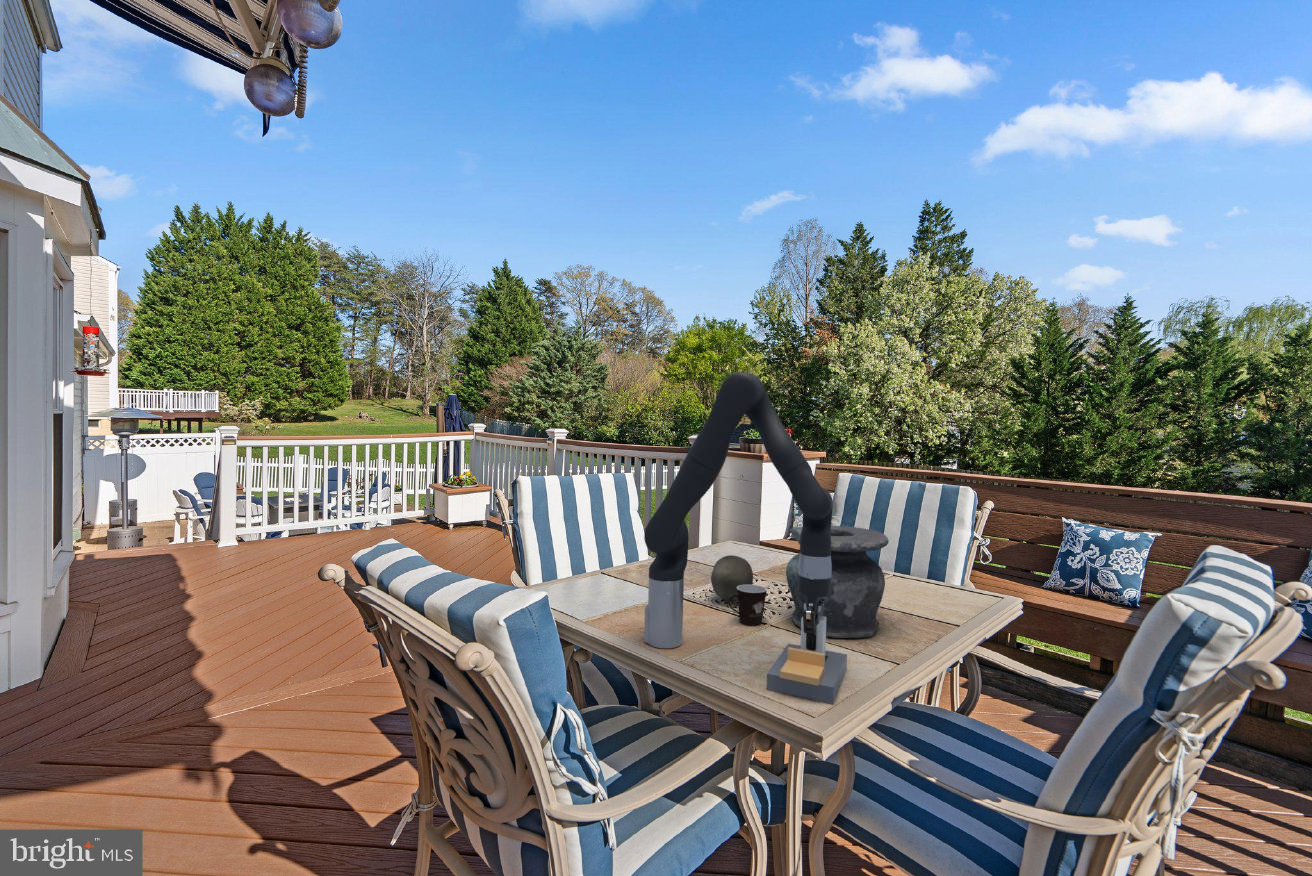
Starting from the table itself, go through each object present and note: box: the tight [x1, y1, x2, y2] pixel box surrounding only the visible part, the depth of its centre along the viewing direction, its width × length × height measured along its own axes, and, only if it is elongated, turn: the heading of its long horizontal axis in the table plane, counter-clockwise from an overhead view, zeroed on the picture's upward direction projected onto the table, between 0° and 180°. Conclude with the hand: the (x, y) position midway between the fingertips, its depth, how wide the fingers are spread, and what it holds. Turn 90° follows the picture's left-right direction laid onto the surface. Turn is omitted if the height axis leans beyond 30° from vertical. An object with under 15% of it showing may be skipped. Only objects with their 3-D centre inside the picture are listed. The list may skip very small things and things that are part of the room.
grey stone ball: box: [710, 554, 754, 603], centre depth 189 cm, size 14×14×15 cm
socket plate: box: [766, 643, 848, 705], centre depth 132 cm, size 14×20×4 cm
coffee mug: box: [727, 584, 767, 627], centre depth 169 cm, size 12×9×10 cm
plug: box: [800, 616, 827, 654], centre depth 135 cm, size 5×4×9 cm
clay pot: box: [785, 525, 890, 639], centre depth 170 cm, size 29×30×30 cm
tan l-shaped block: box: [780, 647, 825, 686], centre depth 126 cm, size 8×8×4 cm
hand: (812, 646), depth 135 cm, fingers closed on plug, 4 cm apart
